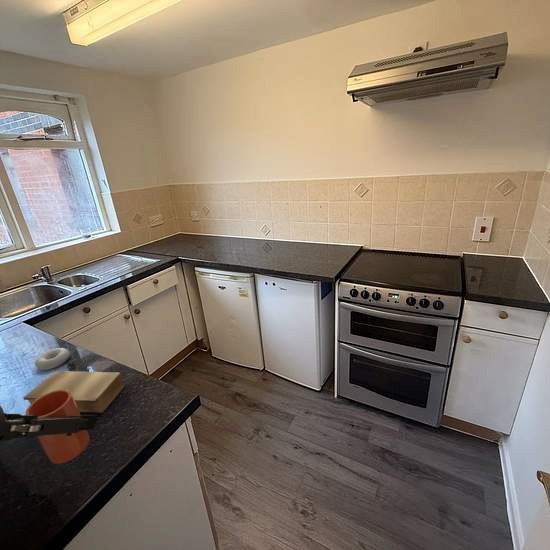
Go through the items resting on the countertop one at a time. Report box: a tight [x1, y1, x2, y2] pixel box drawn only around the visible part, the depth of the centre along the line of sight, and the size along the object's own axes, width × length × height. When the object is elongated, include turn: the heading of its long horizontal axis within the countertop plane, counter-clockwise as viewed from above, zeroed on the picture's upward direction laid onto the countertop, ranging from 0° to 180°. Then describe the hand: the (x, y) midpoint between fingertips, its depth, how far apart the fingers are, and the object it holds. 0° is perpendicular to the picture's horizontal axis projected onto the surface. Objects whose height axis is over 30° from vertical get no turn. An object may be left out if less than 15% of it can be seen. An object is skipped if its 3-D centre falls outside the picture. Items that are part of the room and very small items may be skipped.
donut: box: [34, 347, 71, 371], centre depth 103 cm, size 10×4×10 cm
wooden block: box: [22, 370, 126, 414], centre depth 85 cm, size 22×11×5 cm, turn 82°
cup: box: [25, 389, 91, 465], centre depth 60 cm, size 7×7×12 cm
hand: (76, 420), depth 64 cm, fingers closed on cup, 7 cm apart
